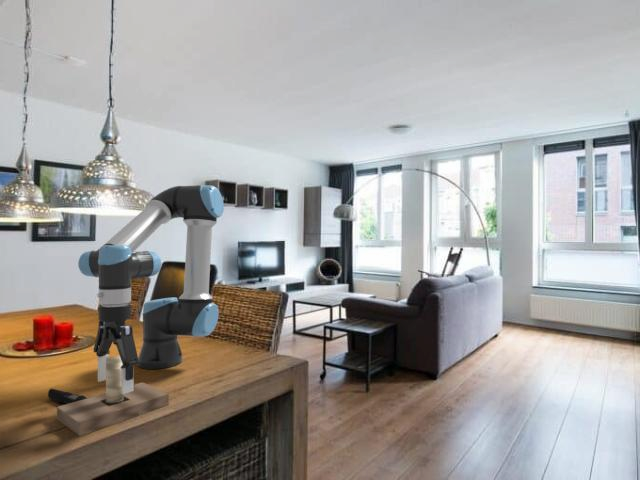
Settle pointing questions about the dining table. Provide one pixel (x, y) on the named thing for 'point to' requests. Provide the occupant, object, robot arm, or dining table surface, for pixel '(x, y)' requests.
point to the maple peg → (113, 381)
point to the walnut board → (110, 409)
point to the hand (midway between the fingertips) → (115, 386)
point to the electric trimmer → (64, 396)
